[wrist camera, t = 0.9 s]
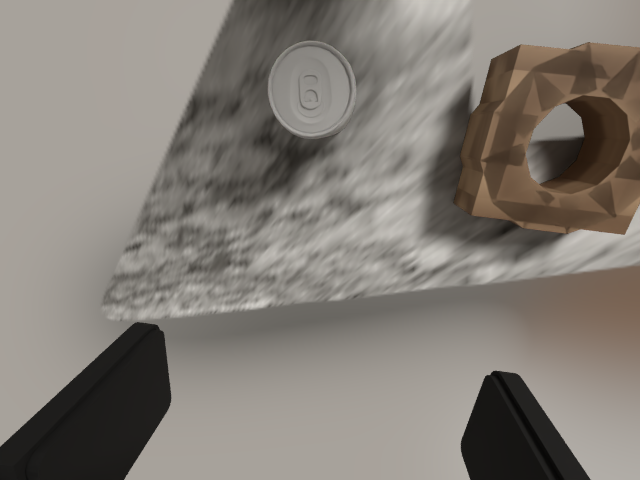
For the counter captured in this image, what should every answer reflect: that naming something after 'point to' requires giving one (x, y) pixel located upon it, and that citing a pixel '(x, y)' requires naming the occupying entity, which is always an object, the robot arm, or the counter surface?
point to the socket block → (528, 111)
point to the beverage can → (312, 90)
